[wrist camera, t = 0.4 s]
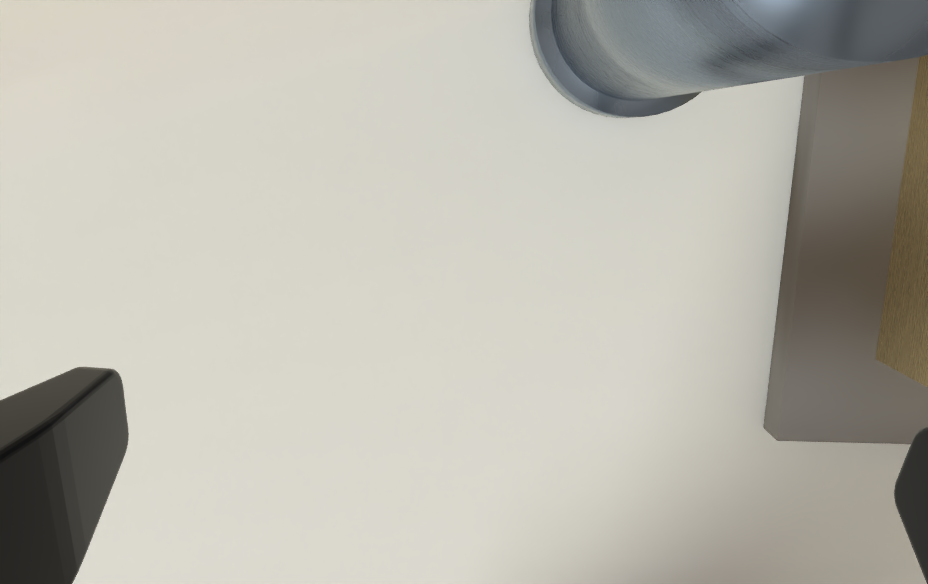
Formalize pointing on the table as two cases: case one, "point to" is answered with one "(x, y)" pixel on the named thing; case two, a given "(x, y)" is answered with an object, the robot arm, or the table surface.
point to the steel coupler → (709, 45)
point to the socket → (910, 253)
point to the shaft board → (843, 264)
